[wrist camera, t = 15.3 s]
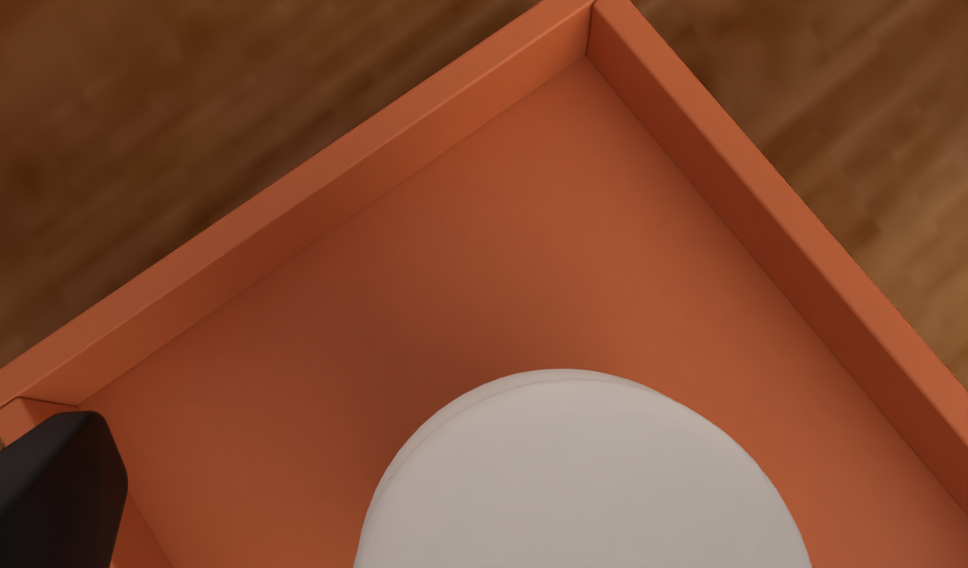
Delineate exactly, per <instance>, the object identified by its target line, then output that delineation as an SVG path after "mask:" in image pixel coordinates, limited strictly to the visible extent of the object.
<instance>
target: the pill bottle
mask: <svg viewBox="0 0 968 568" xmlns="http://www.w3.org/2000/svg"><path fill="white" fill-rule="evenodd" d="M353 568H812V566H811V562H810V559H809V556H808V553H807V550H806V547H805V544H804V541H803V539H802V536H801V533H800V531H799V529H798V527H797V525H796V523H795V521H794V519H793V517H792V515H791V514H790V512H789V510H788V508H787V506H786V505H785V503H784V501H783V499H782V498H781V496H780V494H779V493H778V491H777V489H776V488H775V486H774V485H773V484H772V482H771V481H770V480H769V478H768V477H767V476H766V475H765V473H764V472H763V471H762V470H761V468H760V467H759V465H758V464H757V463H756V462H755V461H754V459H753V458H752V457H751V456H750V455H749V454H748V453H747V452H746V451H745V450H744V449H743V448H742V447H741V446H740V445H739V444H737V443H736V442H735V441H734V440H733V439H732V438H731V437H730V436H728V435H727V434H726V433H725V432H724V431H723V430H721V429H720V428H719V427H717V426H716V425H714V424H713V423H711V422H710V421H708V420H707V419H705V418H704V417H702V416H701V415H699V414H698V413H696V412H695V411H693V410H691V409H689V408H688V407H686V406H684V405H682V404H681V403H678V402H676V401H674V400H672V399H671V398H669V397H667V396H665V395H663V394H661V393H659V392H658V391H656V390H653V389H651V388H649V387H647V386H645V385H642V384H640V383H637V382H634V381H631V380H629V379H625V378H621V377H617V376H614V375H610V374H606V373H601V372H596V371H590V370H579V369H543V370H535V371H528V372H522V373H516V374H513V375H509V376H506V377H502V378H499V379H497V380H494V381H491V382H489V383H486V384H483V385H481V386H479V387H477V388H475V389H473V390H471V391H469V392H467V393H465V394H463V395H461V396H460V397H458V398H457V399H455V400H453V401H452V402H450V403H449V404H447V405H446V406H444V407H443V408H442V409H440V410H439V411H438V412H436V413H435V414H434V415H433V416H431V417H430V418H429V419H428V420H427V421H426V422H425V423H424V424H422V425H421V426H420V427H419V428H418V430H417V431H416V432H415V433H414V434H413V435H412V436H411V437H410V438H409V439H408V441H407V442H406V443H405V444H404V446H403V447H402V448H401V449H400V450H399V452H398V453H397V454H396V456H395V457H394V459H393V460H392V462H391V463H390V465H389V466H388V468H387V469H386V471H385V473H384V475H383V477H382V478H381V480H380V482H379V484H378V486H377V488H376V490H375V493H374V495H373V498H372V500H371V503H370V506H369V508H368V511H367V513H366V517H365V520H364V524H363V527H362V531H361V536H360V541H359V545H358V550H357V554H356V557H355V561H354V565H353Z"/></svg>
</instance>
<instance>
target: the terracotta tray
mask: <svg viewBox="0 0 968 568" xmlns="http://www.w3.org/2000/svg"><path fill="white" fill-rule="evenodd" d="M543 369H579V370H590V371H596V372H601V373H606V374H610V375H614V376H617V377H621V378H625V379H629V380H631V381H634V382H637V383H640V384H642V385H645V386H647V387H649V388H651V389H653V390H656V391H658V392H659V393H661V394H663V395H665V396H667V397H669V398H671V399H672V400H674V401H676V402H678V403H681V404H682V405H684V406H686V407H688V408H689V409H691V410H693V411H695V412H696V413H698V414H699V415H701V416H702V417H704V418H705V419H707V420H708V421H710V422H711V423H713V424H714V425H716V426H717V427H719V428H720V429H721V430H723V431H724V432H725V433H726V434H727V435H728V436H730V437H731V438H732V439H733V440H734V441H735V442H736V443H737V444H739V445H740V446H741V447H742V448H743V449H744V450H745V451H746V452H747V453H748V454H749V455H750V456H751V457H752V458H753V459H754V461H755V462H756V463H757V464H758V465H759V467H760V468H761V470H762V471H763V472H764V473H765V475H766V476H767V477H768V478H769V480H770V481H771V482H772V484H773V485H774V486H775V488H776V489H777V491H778V493H779V494H780V496H781V498H782V499H783V501H784V503H785V505H786V506H787V508H788V510H789V512H790V514H791V515H792V517H793V519H794V521H795V523H796V525H797V527H798V529H799V531H800V533H801V536H802V539H803V541H804V544H805V547H806V550H807V553H808V556H809V559H810V562H811V566H812V568H968V392H967V391H966V390H965V389H964V387H963V386H962V385H961V384H960V383H959V382H958V381H957V379H956V378H955V377H954V376H953V375H952V374H951V372H950V371H949V370H948V369H947V368H946V367H945V365H944V364H943V363H942V362H941V361H940V360H939V358H938V357H937V356H936V355H935V354H934V353H933V352H932V350H931V349H930V348H929V347H928V346H927V345H926V343H925V342H924V341H923V340H922V339H921V338H920V336H919V335H918V334H917V333H916V332H915V331H914V330H913V328H912V327H911V326H910V325H909V324H908V323H907V321H906V320H905V319H904V318H903V317H902V316H901V314H900V313H899V312H898V311H897V310H896V309H895V307H894V306H893V305H892V304H891V303H890V302H889V301H888V299H887V298H886V297H885V296H884V295H883V294H882V292H881V291H880V290H879V289H878V288H877V287H876V285H875V284H874V283H873V282H872V281H871V280H870V279H869V277H868V276H867V275H866V274H865V273H864V272H863V270H862V269H861V268H860V267H859V266H858V265H857V263H856V262H855V261H854V260H853V259H852V258H851V257H850V255H849V254H848V253H847V252H846V251H845V250H844V248H843V247H842V246H841V245H840V244H839V243H838V241H837V240H836V239H835V238H834V237H833V236H832V234H831V233H830V232H829V231H828V230H827V229H826V228H825V226H824V225H823V224H822V223H821V222H820V221H819V219H818V218H817V217H816V216H815V215H814V214H813V212H812V211H811V210H810V209H809V208H808V207H807V206H806V204H805V203H804V202H803V201H802V200H801V199H800V197H799V196H798V195H797V194H796V193H795V192H794V190H793V189H792V188H791V187H790V186H789V185H788V183H787V182H786V181H785V180H784V179H783V178H782V177H781V175H780V174H779V173H778V172H777V171H776V170H775V168H774V167H773V166H772V165H771V164H770V163H769V161H768V160H767V159H766V158H765V157H764V156H763V155H762V153H761V152H760V151H759V150H758V149H757V148H756V146H755V145H754V144H753V143H752V142H751V141H750V139H749V138H748V137H747V136H746V135H745V134H744V133H743V131H742V130H741V129H740V128H739V127H738V126H737V124H736V123H735V122H734V121H733V120H732V119H731V117H730V116H729V115H728V114H727V113H726V112H725V110H724V109H723V108H722V107H721V106H720V105H719V104H718V102H717V101H716V100H715V99H714V98H713V97H712V95H711V94H710V93H709V92H708V91H707V90H706V88H705V87H704V86H703V85H702V84H701V83H700V82H699V80H698V79H697V78H696V77H695V76H694V75H693V73H692V72H691V71H690V70H689V69H688V68H687V66H686V65H685V64H684V63H683V62H682V61H681V59H680V58H679V57H678V56H677V55H676V54H675V53H674V51H673V50H672V49H671V48H670V47H669V46H668V44H667V43H666V42H665V41H664V40H663V39H662V37H661V36H660V35H659V34H658V33H657V32H656V31H655V29H654V28H653V27H652V26H651V25H650V24H649V22H648V21H647V20H646V19H645V18H644V17H643V15H642V14H641V13H640V12H639V11H638V10H637V8H636V7H635V6H634V5H633V4H632V3H631V2H630V0H542V1H541V2H539V3H538V4H536V5H535V6H534V7H532V8H531V9H529V10H528V11H526V12H525V13H523V14H522V15H520V16H519V17H517V18H516V19H514V20H513V21H511V22H510V23H508V24H507V25H506V26H504V27H503V28H501V29H500V30H498V31H497V32H495V33H494V34H492V35H491V36H489V37H488V38H486V39H485V40H483V41H482V42H481V43H479V44H478V45H476V46H475V47H473V48H472V49H470V50H469V51H467V52H466V53H464V54H463V55H461V56H460V57H458V58H457V59H456V60H454V61H453V62H451V63H450V64H448V65H447V66H445V67H444V68H442V69H441V70H439V71H438V72H436V73H435V74H433V75H432V76H431V77H429V78H428V79H426V80H425V81H423V82H422V83H420V84H419V85H417V86H416V87H414V88H413V89H411V90H410V91H408V92H407V93H405V94H404V95H403V96H401V97H400V98H398V99H397V100H395V101H394V102H392V103H391V104H389V105H388V106H386V107H385V108H383V109H382V110H380V111H379V112H378V113H376V114H375V115H373V116H372V117H370V118H369V119H367V120H366V121H364V122H363V123H361V124H360V125H358V126H357V127H355V128H354V129H353V130H351V131H350V132H348V133H347V134H345V135H344V136H342V137H341V138H339V139H338V140H336V141H335V142H333V143H332V144H330V145H329V146H328V147H326V148H325V149H323V150H322V151H320V152H319V153H317V154H316V155H314V156H313V157H311V158H310V159H308V160H307V161H305V162H304V163H303V164H301V165H300V166H298V167H297V168H295V169H294V170H292V171H291V172H289V173H288V174H286V175H285V176H283V177H282V178H280V179H279V180H277V181H276V182H275V183H273V184H272V185H270V186H269V187H267V188H266V189H264V190H263V191H261V192H260V193H258V194H257V195H255V196H254V197H252V198H251V199H250V200H248V201H247V202H245V203H244V204H242V205H241V206H239V207H238V208H236V209H235V210H233V211H232V212H230V213H229V214H227V215H226V216H225V217H223V218H222V219H220V220H219V221H217V222H216V223H214V224H213V225H211V226H210V227H208V228H207V229H205V230H204V231H202V232H201V233H200V234H198V235H197V236H195V237H194V238H192V239H191V240H189V241H188V242H186V243H185V244H183V245H182V246H180V247H179V248H177V249H176V250H175V251H173V252H172V253H170V254H169V255H167V256H166V257H164V258H163V259H161V260H160V261H158V262H157V263H155V264H154V265H152V266H151V267H149V268H148V269H147V270H145V271H144V272H142V273H141V274H139V275H138V276H136V277H135V278H133V279H132V280H130V281H129V282H127V283H126V284H124V285H123V286H122V287H120V288H119V289H117V290H116V291H114V292H113V293H111V294H110V295H108V296H107V297H105V298H104V299H102V300H101V301H99V302H98V303H97V304H95V305H94V306H92V307H91V308H89V309H88V310H86V311H85V312H83V313H82V314H80V315H79V316H77V317H76V318H74V319H73V320H72V321H70V322H69V323H67V324H66V325H64V326H63V327H61V328H60V329H58V330H57V331H55V332H54V333H52V334H51V335H49V336H48V337H46V338H45V339H44V340H42V341H41V342H39V343H38V344H36V345H35V346H33V347H32V348H30V349H29V350H27V351H26V352H24V353H23V354H21V355H20V356H19V357H17V358H16V359H14V360H13V361H11V362H10V363H8V364H7V365H5V366H4V367H2V368H1V369H0V437H1V439H2V441H3V443H4V444H5V446H8V445H9V444H11V443H12V442H14V441H15V440H17V439H18V438H20V437H21V436H22V435H24V434H25V433H27V432H28V431H30V430H31V429H33V428H34V427H36V426H37V425H38V424H40V423H41V422H43V421H44V420H46V419H47V418H49V417H50V416H52V415H54V414H56V413H61V412H72V411H88V410H93V411H96V412H99V413H100V414H101V415H102V416H103V417H104V418H105V420H106V421H107V423H108V426H109V428H110V431H111V433H112V436H113V438H114V440H115V443H116V445H117V448H118V450H119V453H120V455H121V458H122V460H123V463H124V465H125V467H126V471H127V475H128V493H127V498H126V502H125V506H124V511H123V515H122V519H121V523H120V527H119V531H118V535H117V539H116V543H115V547H114V551H113V555H112V559H111V564H110V568H353V565H354V561H355V557H356V554H357V550H358V545H359V541H360V536H361V531H362V527H363V524H364V520H365V517H366V513H367V511H368V508H369V506H370V503H371V500H372V498H373V495H374V493H375V490H376V488H377V486H378V484H379V482H380V480H381V478H382V477H383V475H384V473H385V471H386V469H387V468H388V466H389V465H390V463H391V462H392V460H393V459H394V457H395V456H396V454H397V453H398V452H399V450H400V449H401V448H402V447H403V446H404V444H405V443H406V442H407V441H408V439H409V438H410V437H411V436H412V435H413V434H414V433H415V432H416V431H417V430H418V428H419V427H420V426H421V425H422V424H424V423H425V422H426V421H427V420H428V419H429V418H430V417H431V416H433V415H434V414H435V413H436V412H438V411H439V410H440V409H442V408H443V407H444V406H446V405H447V404H449V403H450V402H452V401H453V400H455V399H457V398H458V397H460V396H461V395H463V394H465V393H467V392H469V391H471V390H473V389H475V388H477V387H479V386H481V385H483V384H486V383H489V382H491V381H494V380H497V379H499V378H502V377H506V376H509V375H513V374H516V373H522V372H528V371H535V370H543Z"/></svg>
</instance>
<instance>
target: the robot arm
mask: <svg viewBox="0 0 968 568" xmlns="http://www.w3.org/2000/svg"><path fill="white" fill-rule="evenodd" d="M127 493H128V475H127V471H126V467H125V465H124V463H123V460H122V458H121V455H120V453H119V450H118V448H117V445H116V443H115V440H114V438H113V436H112V433H111V431H110V428H109V426H108V423H107V421H106V420H105V418H104V417H103V416H102V415H101V414H100V413H99V412H96V411H93V410H88V411H72V412H61V413H56V414H54V415H52V416H50V417H49V418H47V419H46V420H44V421H43V422H41V423H40V424H38V425H37V426H36V427H34V428H33V429H31V430H30V431H28V432H27V433H25V434H24V435H22V436H21V437H20V438H18V439H17V440H15V441H14V442H12V443H11V444H9V445H8V446H6V447H5V448H3V449H2V450H1V451H0V568H110V564H111V559H112V555H113V551H114V547H115V543H116V539H117V535H118V531H119V527H120V523H121V519H122V515H123V511H124V506H125V502H126V498H127Z"/></svg>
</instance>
